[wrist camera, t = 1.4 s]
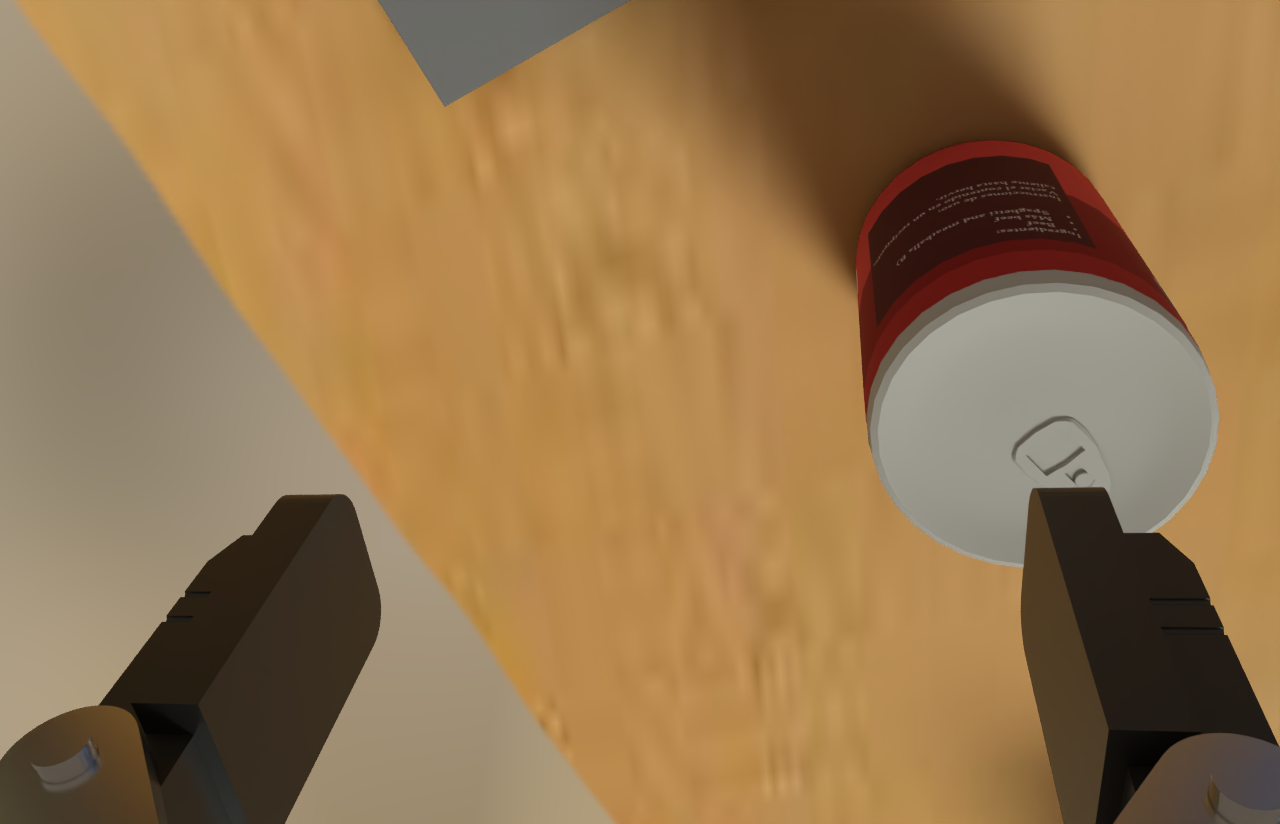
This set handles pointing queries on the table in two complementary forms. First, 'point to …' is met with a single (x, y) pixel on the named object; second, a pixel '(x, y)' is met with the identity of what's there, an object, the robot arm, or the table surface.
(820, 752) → the table surface
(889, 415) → the canned food
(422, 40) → the console
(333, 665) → the robot arm
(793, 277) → the table surface
